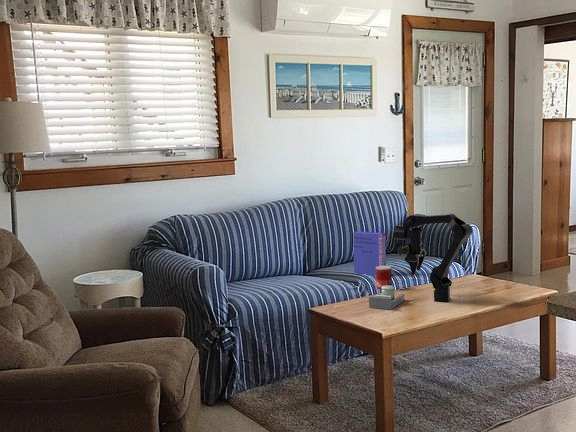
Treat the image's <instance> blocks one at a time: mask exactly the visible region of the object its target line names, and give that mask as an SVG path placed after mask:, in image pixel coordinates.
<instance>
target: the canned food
mask: <svg viewBox="0 0 576 432" xmlns="http://www.w3.org/2000/svg"><path fill="white" fill-rule="evenodd" d="M392 269H393V268H392V266H389V265H386V266H377V267H376V276H375V285H376V289H377V290H381V291H382V289H381V287H382V286H384V285H391V286H393V279H392V278H393V276H392V275H393V274H392Z"/></svg>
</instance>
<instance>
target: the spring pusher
mask: <svg viewBox="0 0 576 432" xmlns="http://www.w3.org/2000/svg"><path fill="white" fill-rule="evenodd" d="M374 297H382V298H391V296H384V295H380V294H375V295H374Z"/></svg>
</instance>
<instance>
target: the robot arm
mask: <svg viewBox="0 0 576 432" xmlns="http://www.w3.org/2000/svg"><path fill="white" fill-rule="evenodd" d="M430 224H433V225H435V224H447V225H448V226H449V228H450V230H451V231H453V235H452V242H451V243H450V245H449V247H448V249H447V250H446V252H445V255H444V256H443V258H442V260H441V262H440V263H439V265H436V266H434V267H432V270H431V272H430V273H429V280H430V283H431V284H432V287H433V289H434V290H433V301H434V302H439V303H440V302H442V303H449V301H451V299H452V298H451V287H452V285H453V281H452V280H451V279H450V278H449V273H450V268H451V266H452V264H453V263H454V260H455V259H456V256H457V254H458V253H459V251H460V249H461V247H462V246H463V244H464V243H465V242H466V241H468V239H469V238H470V236H472V234H473V233H474V230H473V228H472V226H471V225H470V224H469V223H466V222H465V220H463V219H461V218H459V217H457V215H456V214H454V213H449V214H447V213H446V214H434V215H426V214H421V213H415V214H411V215H408V216H407V218H406V222H405V223H404V224H403V225H400V224H398V225H395V228H394V230H393V238H394V239H395V240H403V241H404V240H405V241H407V240H408V243H407V245H406V246H405V245H404V246H402V245H401V246H399V247H398V248H397V250H396V253H397V254H398V256H402V255H404V258H403V259H404V262H406V263H407V264H408V265H409V268H410V271H411V274H412V275H416V271H417V272H418V271H419V272H420V270H421V268H422V266H423V263H424V260H425V258H426V255H427V250H426V249H425V248H422V245H423V241H422V233H423V232H425V231H426V229H425V228H424V227H423V225H430ZM405 254H406V255H405Z"/></svg>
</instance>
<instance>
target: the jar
mask: <svg viewBox="0 0 576 432" xmlns="http://www.w3.org/2000/svg"><path fill="white" fill-rule="evenodd" d="M381 289H382V290H381V294H382V295H384V296H391V298H392V300H394V299H395V298H396V296H395V293H396V292H395V291H396V290H395V289H396V286H394V285H392V286H391V285H384V286H382V287H381Z"/></svg>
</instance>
